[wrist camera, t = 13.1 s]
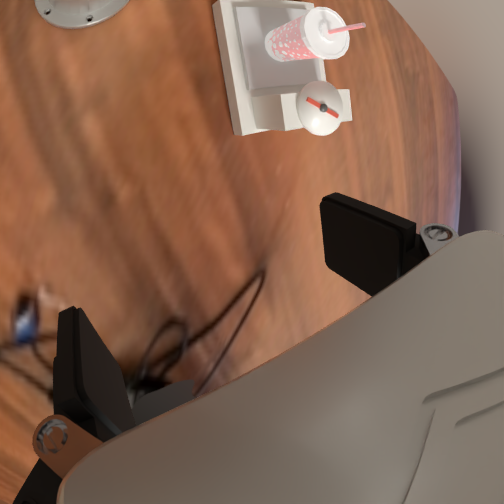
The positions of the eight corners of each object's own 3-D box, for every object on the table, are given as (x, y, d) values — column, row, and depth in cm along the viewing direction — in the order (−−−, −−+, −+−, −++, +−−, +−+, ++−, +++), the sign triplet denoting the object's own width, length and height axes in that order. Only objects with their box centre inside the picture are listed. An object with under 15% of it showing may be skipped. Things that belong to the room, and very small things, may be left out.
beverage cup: (269, 73, 33) (352, 60, 22) (251, 29, 30) (330, -3, 19) (306, 60, 35) (391, 50, 23) (291, 20, 31) (373, -5, 20)
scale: (211, 5, 29) (247, -23, 21) (302, 7, 34) (349, -9, 26) (234, 139, 38) (274, 145, 30) (319, 123, 43) (368, 128, 35)
